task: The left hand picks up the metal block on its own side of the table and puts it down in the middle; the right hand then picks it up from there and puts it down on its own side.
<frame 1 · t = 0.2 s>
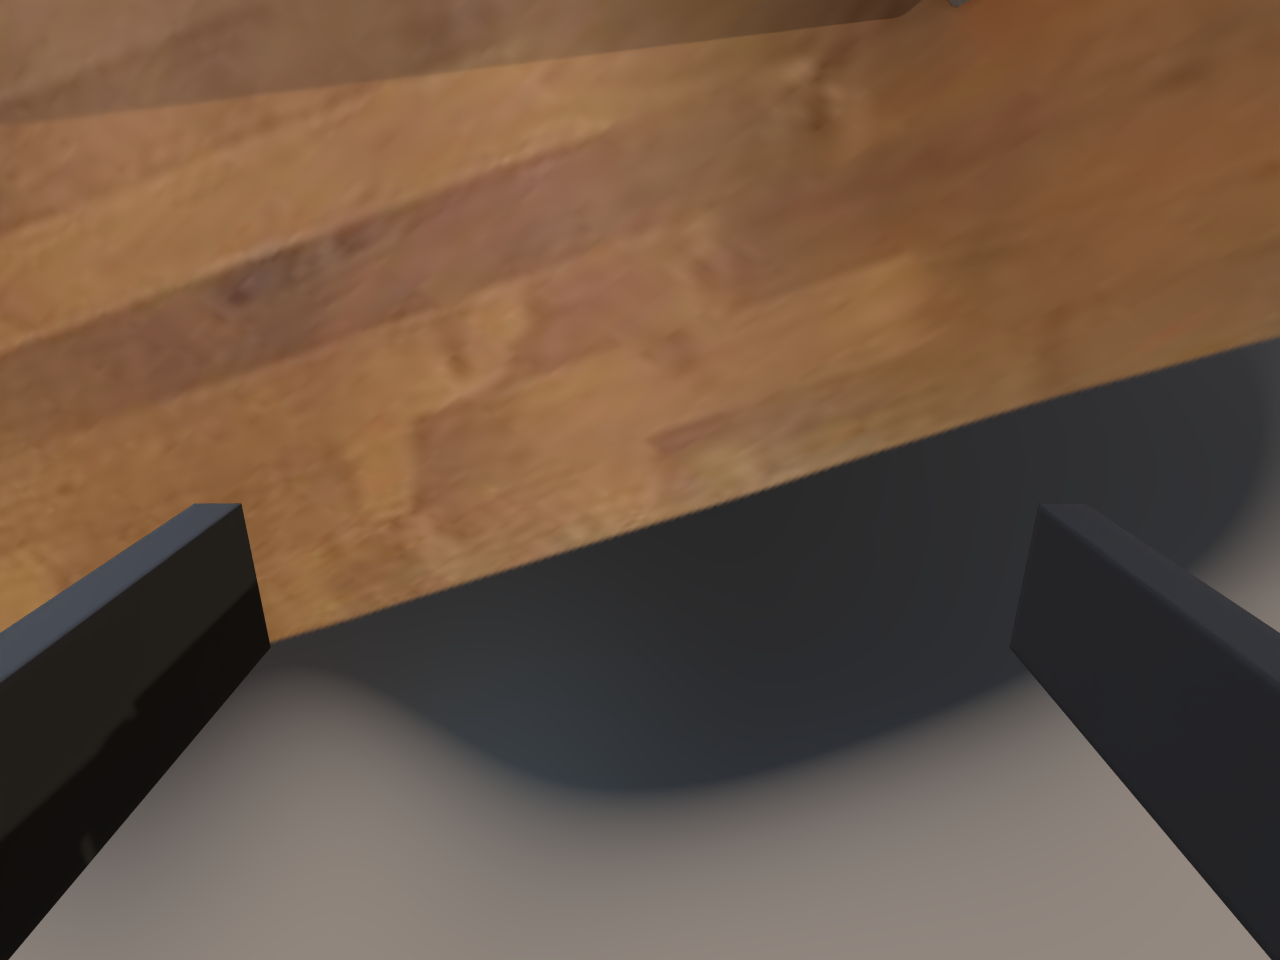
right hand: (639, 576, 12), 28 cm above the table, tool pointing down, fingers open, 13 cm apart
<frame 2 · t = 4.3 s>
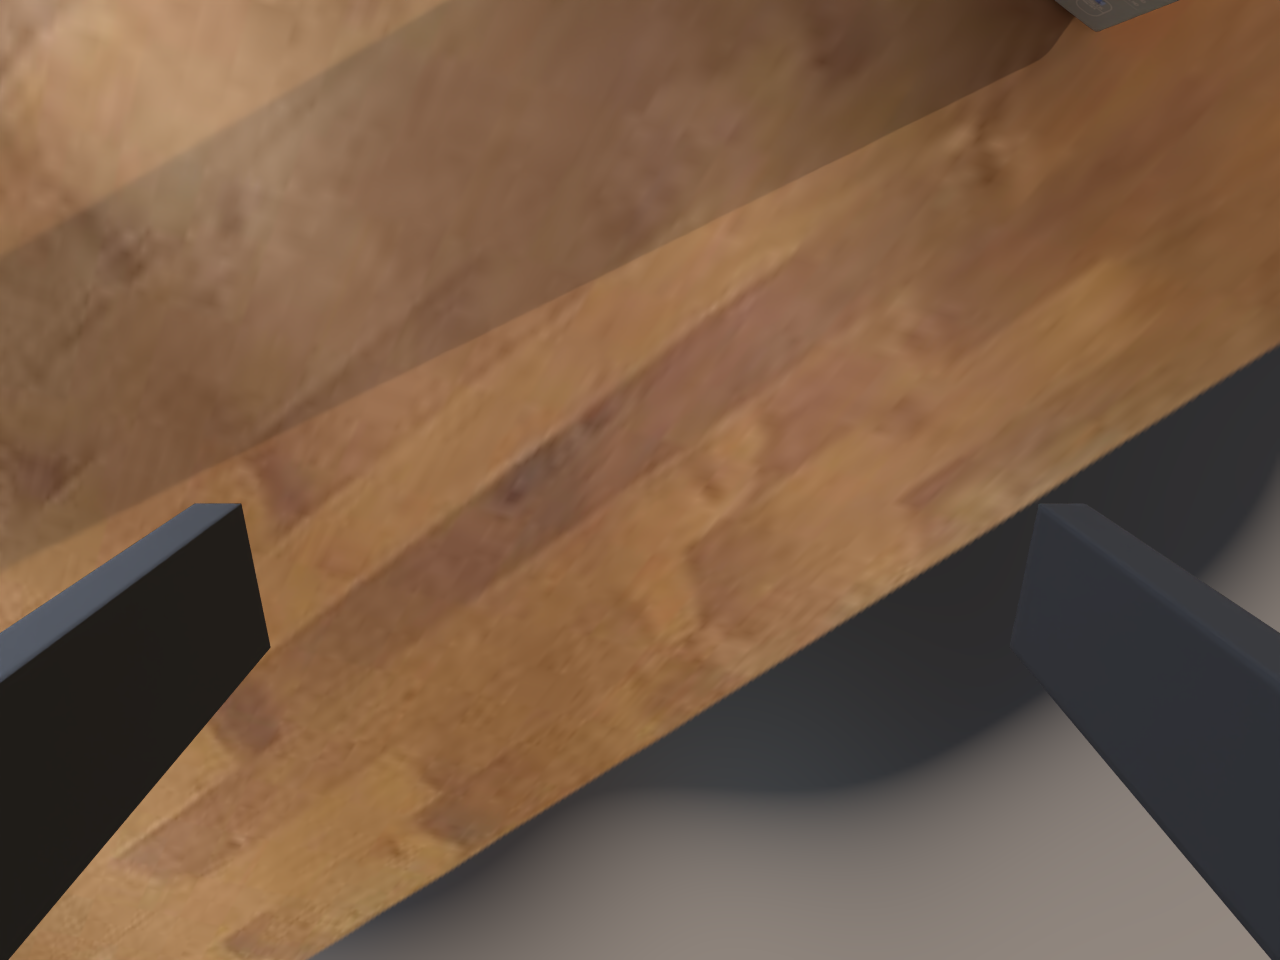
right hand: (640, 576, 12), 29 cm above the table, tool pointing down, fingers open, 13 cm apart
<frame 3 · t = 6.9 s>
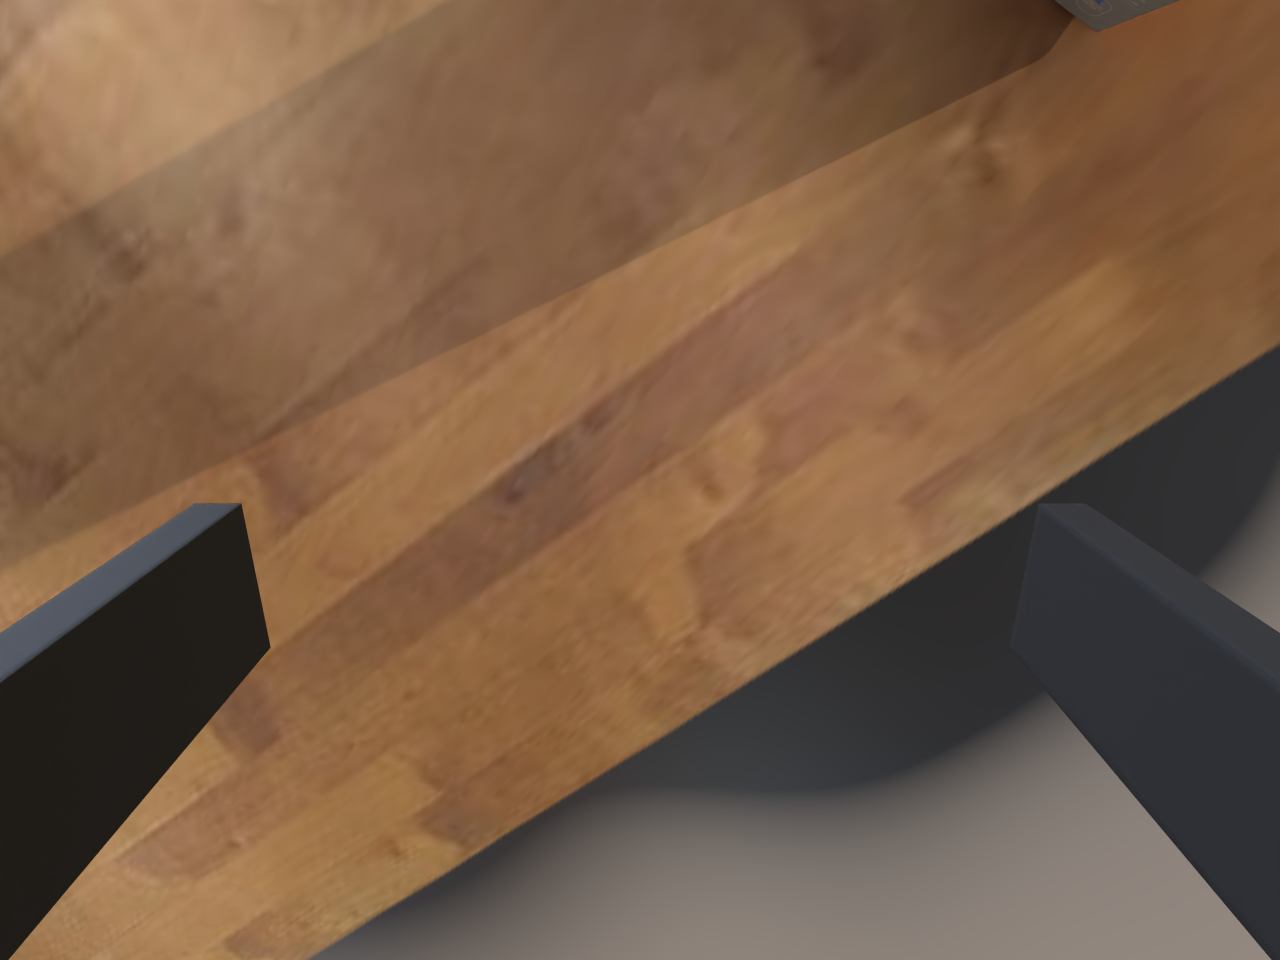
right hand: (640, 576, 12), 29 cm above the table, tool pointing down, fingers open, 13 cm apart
when the left hand's fingers open (4 cm above the table, at t = 9.3 s): block drops 1 cm, on the table.
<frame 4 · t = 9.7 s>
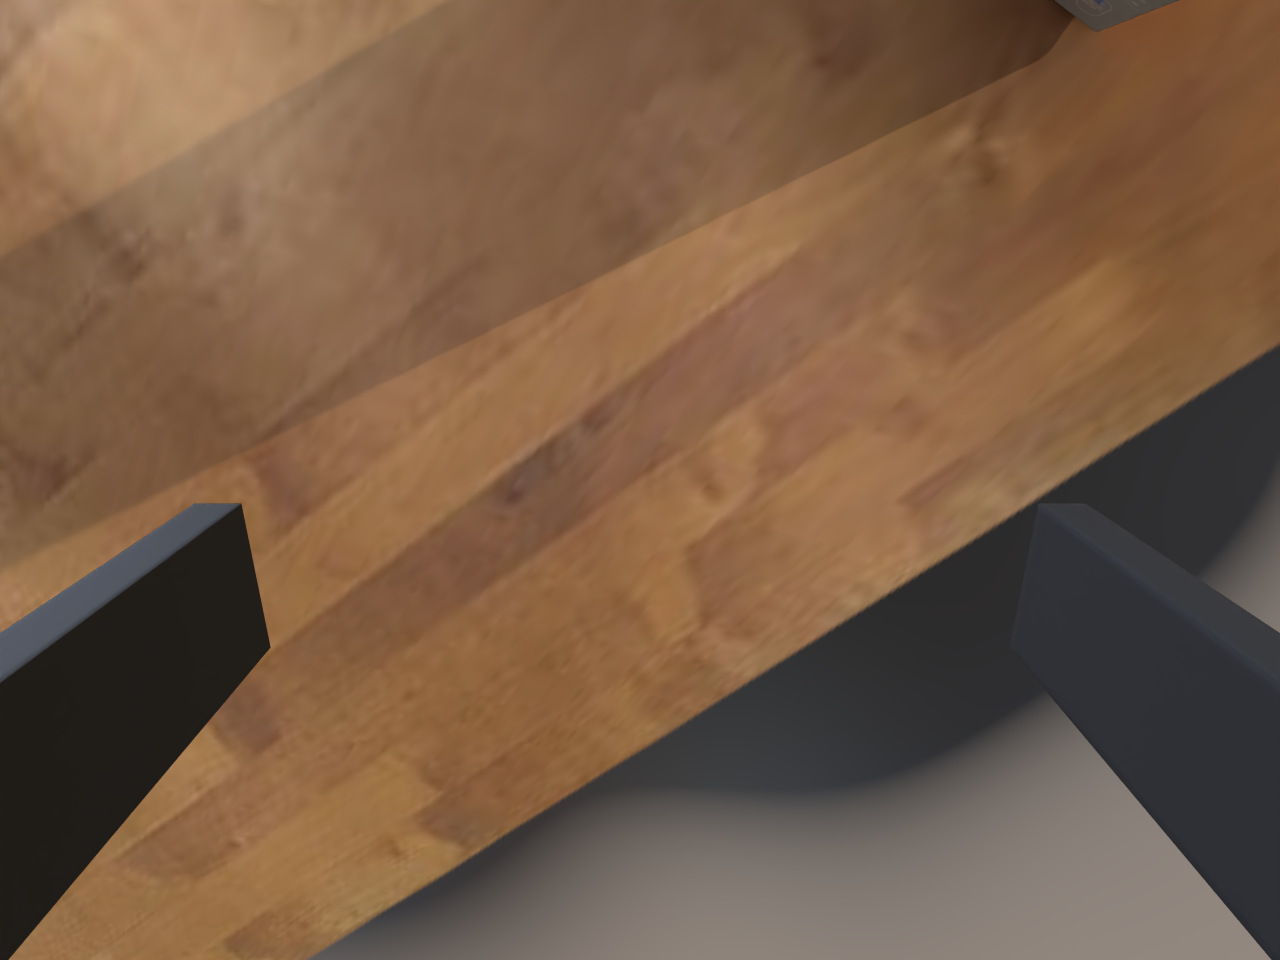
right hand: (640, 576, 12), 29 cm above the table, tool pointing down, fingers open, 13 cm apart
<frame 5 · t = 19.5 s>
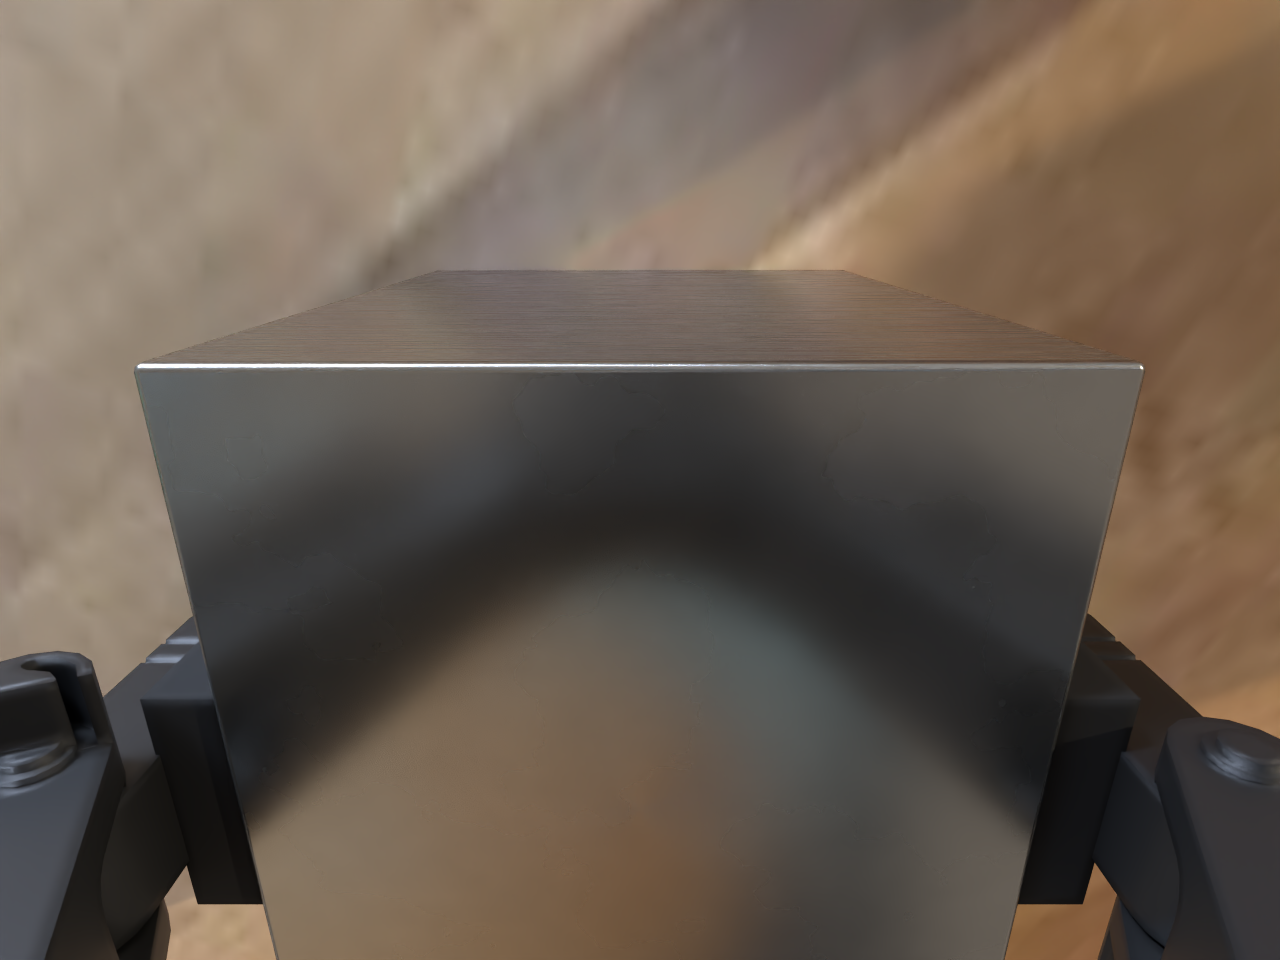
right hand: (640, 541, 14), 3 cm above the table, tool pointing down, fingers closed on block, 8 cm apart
block: (640, 484, 16), on the table, touching right hand
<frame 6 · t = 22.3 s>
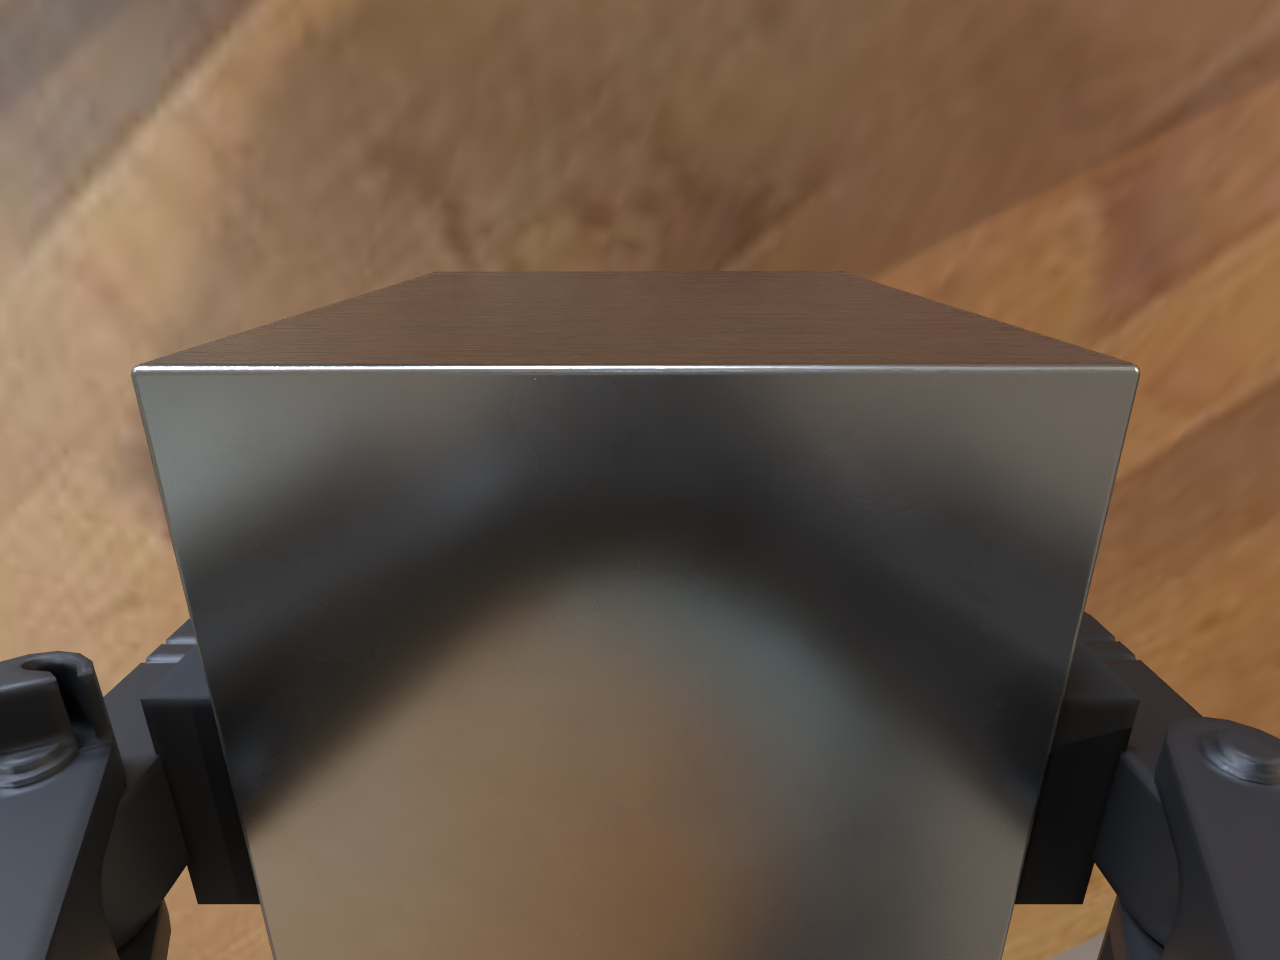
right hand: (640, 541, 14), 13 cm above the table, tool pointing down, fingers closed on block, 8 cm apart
block: (638, 485, 16), point 10 cm above the table, touching right hand
when the right hand's fingers open (4 cm above the table, at t = 25.1 s): block drops 1 cm, on the table.
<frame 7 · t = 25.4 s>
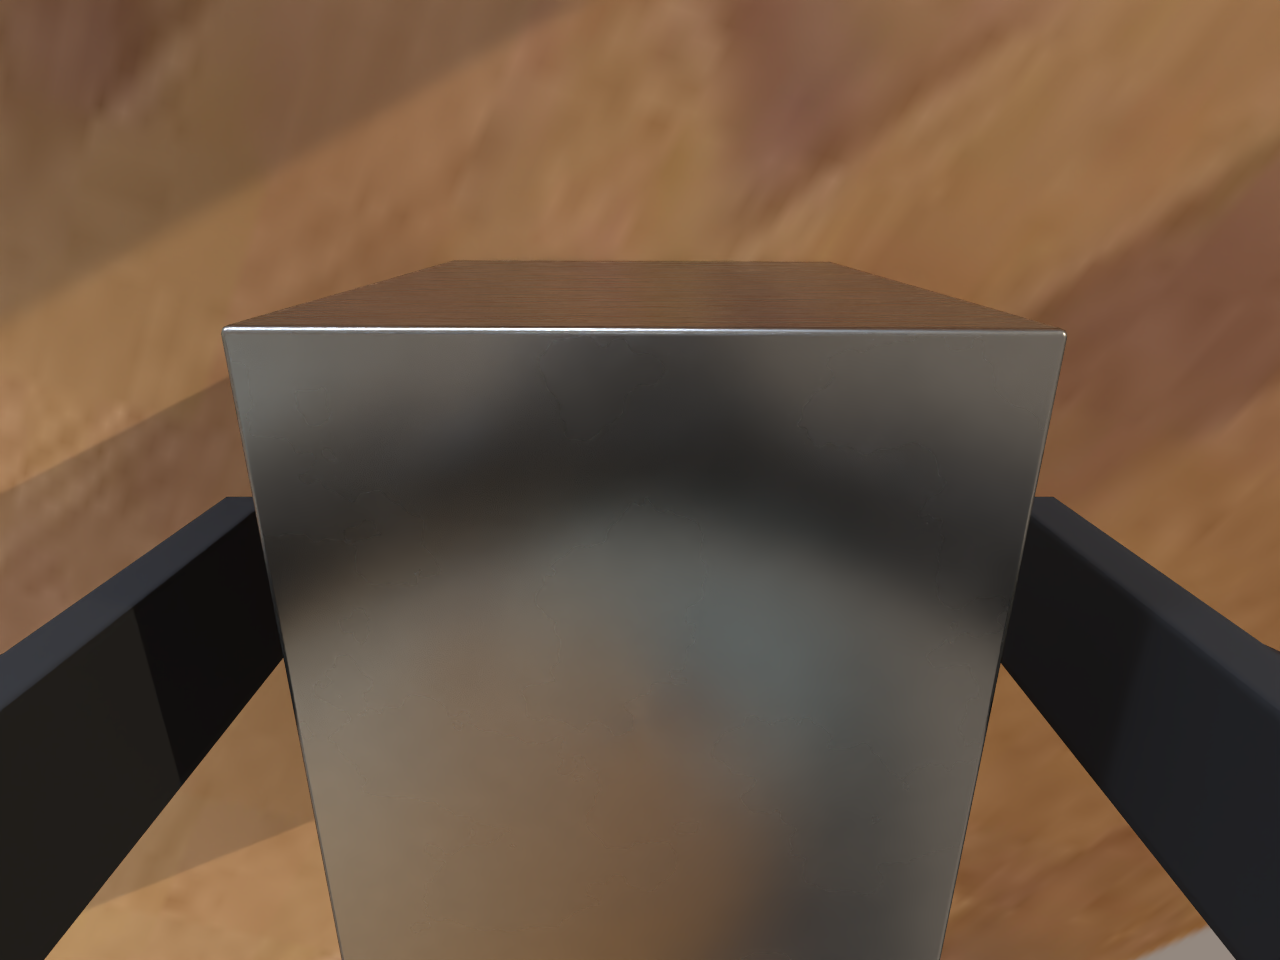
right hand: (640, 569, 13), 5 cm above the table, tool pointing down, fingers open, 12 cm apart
block: (641, 462, 17), on the table
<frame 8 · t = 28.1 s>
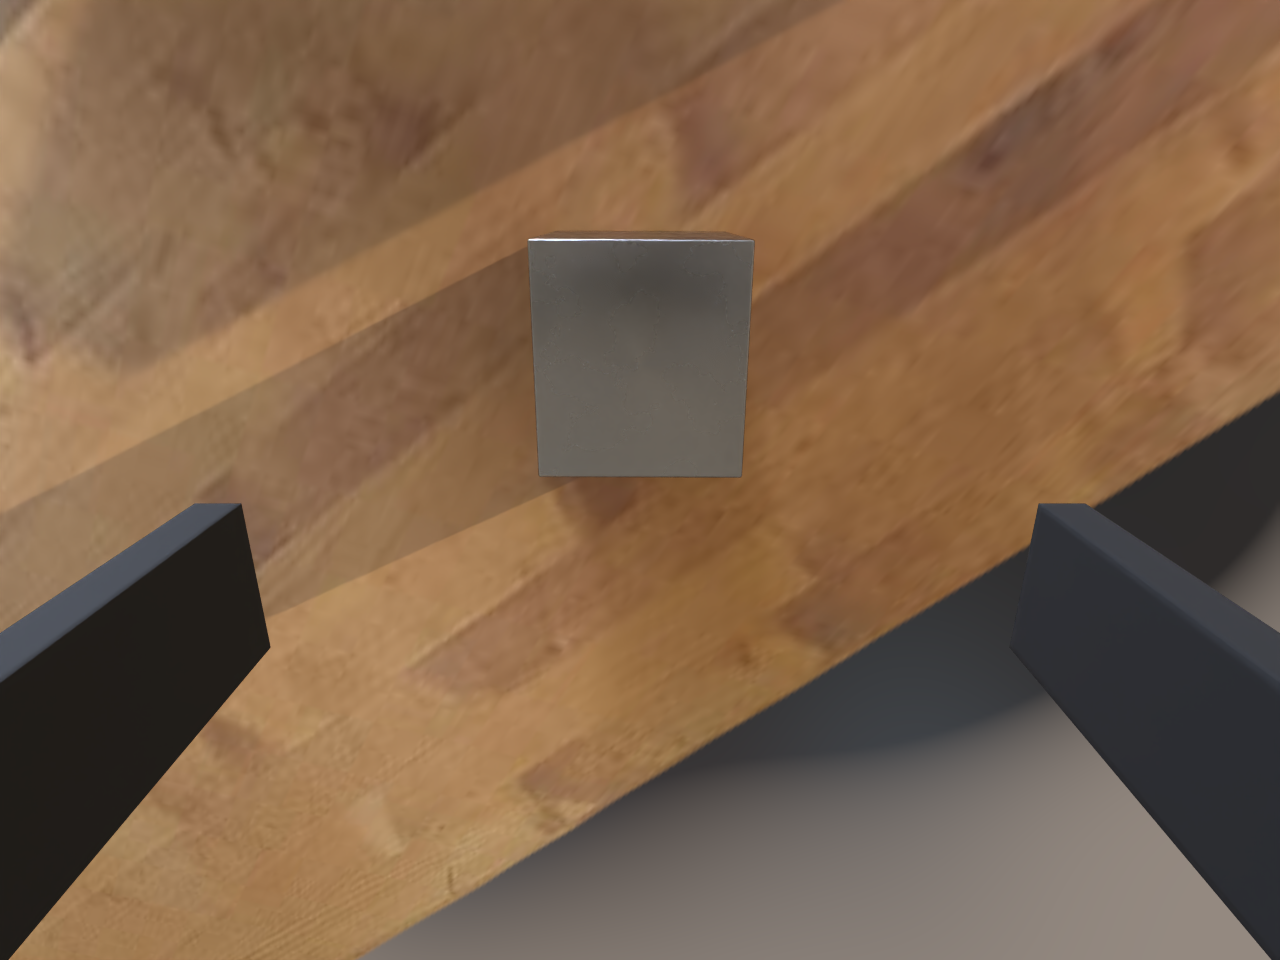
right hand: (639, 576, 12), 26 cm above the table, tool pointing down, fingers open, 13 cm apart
block: (640, 327, 37), on the table
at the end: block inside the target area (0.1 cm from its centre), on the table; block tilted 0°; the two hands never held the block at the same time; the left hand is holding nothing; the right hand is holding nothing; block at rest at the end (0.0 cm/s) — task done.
